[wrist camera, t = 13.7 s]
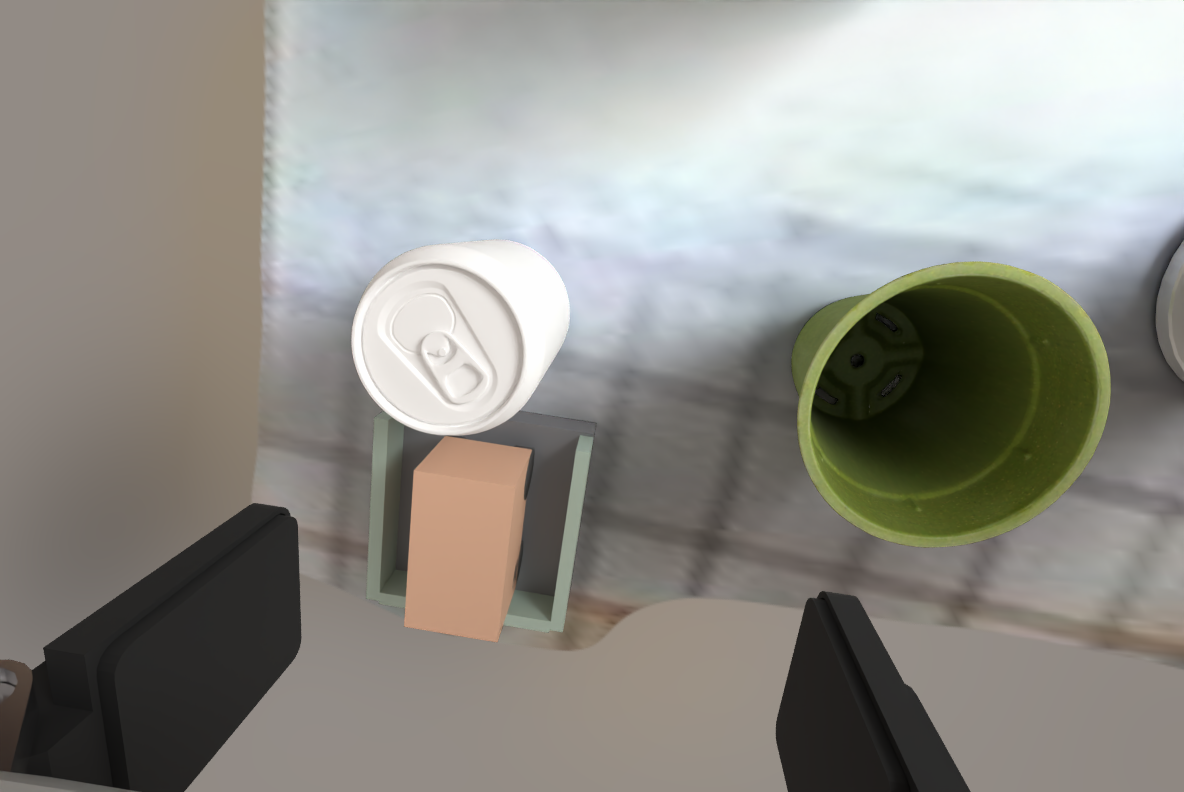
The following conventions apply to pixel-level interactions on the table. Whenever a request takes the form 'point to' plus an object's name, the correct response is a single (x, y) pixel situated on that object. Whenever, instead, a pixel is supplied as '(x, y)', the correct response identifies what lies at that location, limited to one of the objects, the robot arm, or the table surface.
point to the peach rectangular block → (466, 536)
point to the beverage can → (459, 334)
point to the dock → (545, 519)
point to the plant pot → (950, 402)
